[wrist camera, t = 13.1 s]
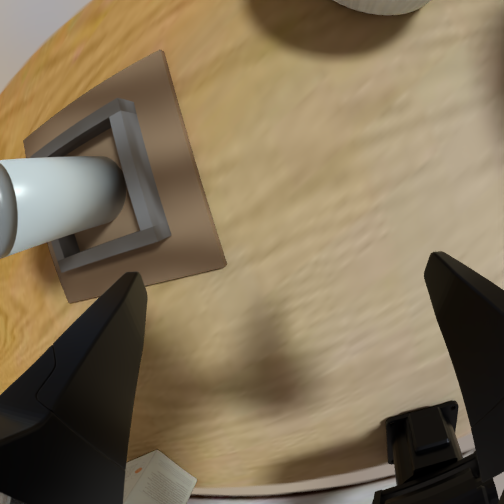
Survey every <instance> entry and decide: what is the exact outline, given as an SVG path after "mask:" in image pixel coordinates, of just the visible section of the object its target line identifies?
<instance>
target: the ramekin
mask: <svg viewBox="0 0 504 504" xmlns="http://www.w3.org/2000/svg"><path fill="white" fill-rule="evenodd" d="M333 1H335V2H337V3H339V4H341V5H343V6H346V7H348V8H351V9H354V10H356V11H361V12H365V13H368V14H376V15H399V14H406V13H409V12H413V11H415V10H417V9H420V8H421V7H422V6H424V5H426V4H427V3H429V2H430V1H431V0H333Z"/></svg>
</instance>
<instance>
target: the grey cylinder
mask: <svg viewBox="0 0 504 504" xmlns="http://www.w3.org/2000/svg"><path fill="white" fill-rule="evenodd" d="M125 198H126V183H125V178H124V175H123V173H122V171H121V169H120V167H119V166H118V165H117V164H116V162H114V161H113V160H112V159H110V158H108V157H104V156H72V157H44V158H25V159H11V160H0V259H1V258H4V257H7V256H9V255H12V254H15V253H18V252H20V251H23V250H26V249H29V248H32V247H35V246H38V245H41V244H43V243H46V242H49V241H52V240H55V239H58V238H62V237H65V236H68V235H71V234H74V233H77V232H80V231H83V230H87V229H90V228H93V227H96V226H100V225H103V224H106V223H109V222H111V221H113V220H114V219H115V218H116V217H117V216H118V215H119V214H120V212H121V210H122V208H123V206H124V203H125Z"/></svg>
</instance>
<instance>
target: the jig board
mask: <svg viewBox="0 0 504 504" xmlns="http://www.w3.org/2000/svg"><path fill="white" fill-rule="evenodd" d="M23 142H24V148H25V154H26V158H44V157H72V156H104V157H108V158H110V159H112V160H113V161H114V162H116V164H117V165H118V166H119V167H120V169H121V171H122V173H123V175H124V178H125V183H126V198H125V203H124V206H123V208H122V210H121V212H120V214H119V215H118V216H117V217H116V218H115V219H114V220H113V221H111V222H109V223H106V224H103V225H100V226H96V227H93V228H90V229H87V230H83V231H80V232H77V233H74V234H71V235H68V236H65V237H62V238H58V239H55V240H52V241H49V242H47V244H48V247H49V250H50V253H51V256H52V259H53V262H54V265H55V268H56V271H57V274H58V277H59V279H60V282H61V285H62V287H63V290H64V293H65V295H66V298H67V300H68V303H72V302H76V301H81V300H85V299H90V298H94V297H98V296H101V295H102V294H103V293H104V292H105V291H106V290H108V289H109V288H110V287H111V286H112V285H113V284H114V283H115V282H116V281H117V280H118V279H119V278H120V277H121V276H122V275H123V274H125V273H126V272H136V271H137V272H139V273H140V274H141V277H142V280H143V283H144V285H145V286H146V285H151V284H155V283H159V282H163V281H168V280H172V279H176V278H181V277H185V276H189V275H193V274H198V273H202V272H206V271H210V270H215V269H219V268H223V267H225V266H226V265H227V262H226V259H225V256H224V253H223V250H222V247H221V244H220V240H219V237H218V234H217V231H216V228H215V224H214V221H213V218H212V215H211V212H210V208H209V205H208V202H207V199H206V195H205V192H204V189H203V186H202V182H201V179H200V176H199V172H198V169H197V166H196V162H195V159H194V156H193V152H192V149H191V145H190V142H189V139H188V135H187V132H186V128H185V125H184V121H183V118H182V114H181V111H180V107H179V104H178V100H177V97H176V93H175V90H174V86H173V83H172V79H171V75H170V72H169V68H168V64H167V61H166V57H165V53H164V52H163V51H162V50H158V51H156V52H154V53H152V54H151V55H149V56H147V57H145V58H143V59H141V60H139V61H137V62H136V63H134V64H132V65H130V66H129V67H127V68H125V69H123V70H122V71H120V72H118V73H117V74H115V75H113V76H112V77H110V78H108V79H107V80H105V81H103V82H102V83H100V84H99V85H97V86H96V87H94V88H93V89H91V90H89V91H88V92H86V93H85V94H84V95H82V96H81V97H79V98H78V99H76V100H75V101H73V102H72V103H71V104H69V105H68V106H66V107H65V108H64V109H62V110H61V111H60V112H58V113H57V114H56V115H54V116H53V117H52V118H50V119H49V120H48V121H47V122H45V123H44V124H43V125H41V126H40V127H39V128H38V129H37V130H35V131H34V132H33V133H32V134H30V135H29V136H28V137H27V138H26V139H25V140H23Z"/></svg>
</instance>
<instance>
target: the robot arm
mask: <svg viewBox="0 0 504 504" xmlns="http://www.w3.org/2000/svg"><path fill="white" fill-rule="evenodd" d="M424 279H425V283H426V286H427V289H428V292H429V295H430V299H431V302H432V306H433V309H434V312H435V316H436V319H437V322H438V324H439V327H440V330H441V332H442V335H443V338H444V340H445V343H446V346H447V349H448V352H449V355H450V358H451V361H452V364H453V367H454V370H455V373H456V376H457V379H458V382H459V386H460V389H461V392H462V396H463V399H464V403H465V407H466V410H467V414H468V418H469V422H470V426H471V427H472V428H471V431H472V435H473V439H474V444H475V449H476V451H474V453H473V454H471V455H469V456H467V457H465V458H463V456H462V453H461V450H460V447H459V444H458V441H457V438H456V435H455V429H456V422H457V414H458V403H457V402H456V401H451V402H448V403H445V404H441V405H438V406H435V407H431V408H427V409H424V410H420V411H416V412H413V413H409V414H405V415H400V416H396V417H392V418H389V419H387V421H386V435H387V453H388V463H389V464H394V465H395V475H396V484H397V486H395V487H392V488H389V489H386V490H379V491H376V492H375V494H374V500H373V502H372V504H504V490H503V492H502V495H501V497H500V500H499V499H498V494H497V491H496V487H495V484H494V481H493V477H495V476H497V475H499V474H500V473H502V472H504V290H503V289H501V288H500V287H498V286H497V285H495V284H494V283H492V282H491V281H489V280H488V279H486V278H485V277H483V276H481V275H480V274H478V273H477V272H475V271H474V270H472V269H471V268H469V267H467V266H466V265H464V264H463V263H461V262H459V261H458V260H456V259H454V258H453V257H451V256H450V255H448V254H446V253H445V252H442V251H440V252H433V253H431V254H430V257H429V260H428V263H427V265H426V268H425V271H424ZM146 309H147V291H146V288H145V285H144V283H143V280H142V277H141V274H140V273H139V272H137V271H136V272H126V273H125V274H123V275H122V276H121V277H120V278H119V279H118V280H117V281H116V282H115V283H114V284H113V285H112V286H111V287H110V288H109V289H108V290H106V291H105V292H104V293H103V294H102V295H101V296H100V297H99V298H98V299H97V300H96V301H95V302H94V303H93V304H92V305H91V306H90V307H89V308H88V309H87V310H86V311H85V312H84V313H83V314H82V315H81V316H80V317H79V318H78V319H77V320H76V321H75V322H74V323H73V324H72V325H71V326H70V327H69V328H68V329H67V330H66V331H65V332H64V333H63V334H62V335H61V336H60V337H59V338H58V339H57V340H56V341H55V342H54V343H53V345H51V346H50V347H49V348H48V349H47V351H46V352H45V353H44V354H43V355H42V356H41V357H40V358H39V359H38V360H37V361H36V362H35V363H34V364H33V365H32V366H31V367H30V368H29V369H28V370H27V371H25V372H24V373H23V374H22V375H21V376H20V377H19V378H18V379H17V380H16V381H15V382H14V383H13V384H12V385H10V386H9V387H8V388H7V389H6V390H5V391H4V392H3V393H2V394H1V395H0V504H123V497H124V484H125V472H126V471H125V469H126V461H127V451H128V442H129V434H130V426H131V419H132V412H133V405H134V398H135V391H136V385H137V379H138V373H139V367H140V362H141V356H142V351H143V344H144V334H145V321H146ZM452 406H453V407H452ZM390 423H392V424H390Z"/></svg>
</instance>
